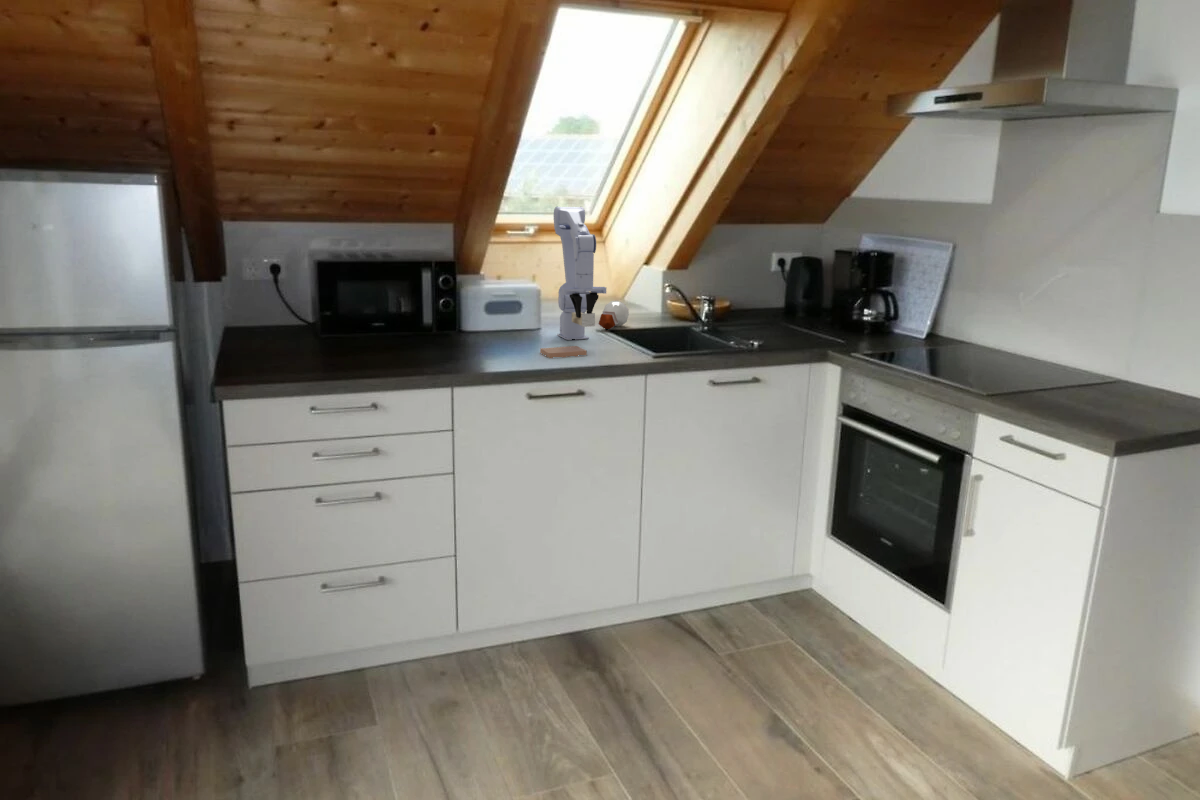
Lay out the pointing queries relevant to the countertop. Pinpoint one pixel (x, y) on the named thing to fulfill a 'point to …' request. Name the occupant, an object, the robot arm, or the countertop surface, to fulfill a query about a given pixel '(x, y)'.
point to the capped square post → (584, 319)
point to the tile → (563, 351)
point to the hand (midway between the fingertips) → (583, 316)
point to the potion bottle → (614, 315)
